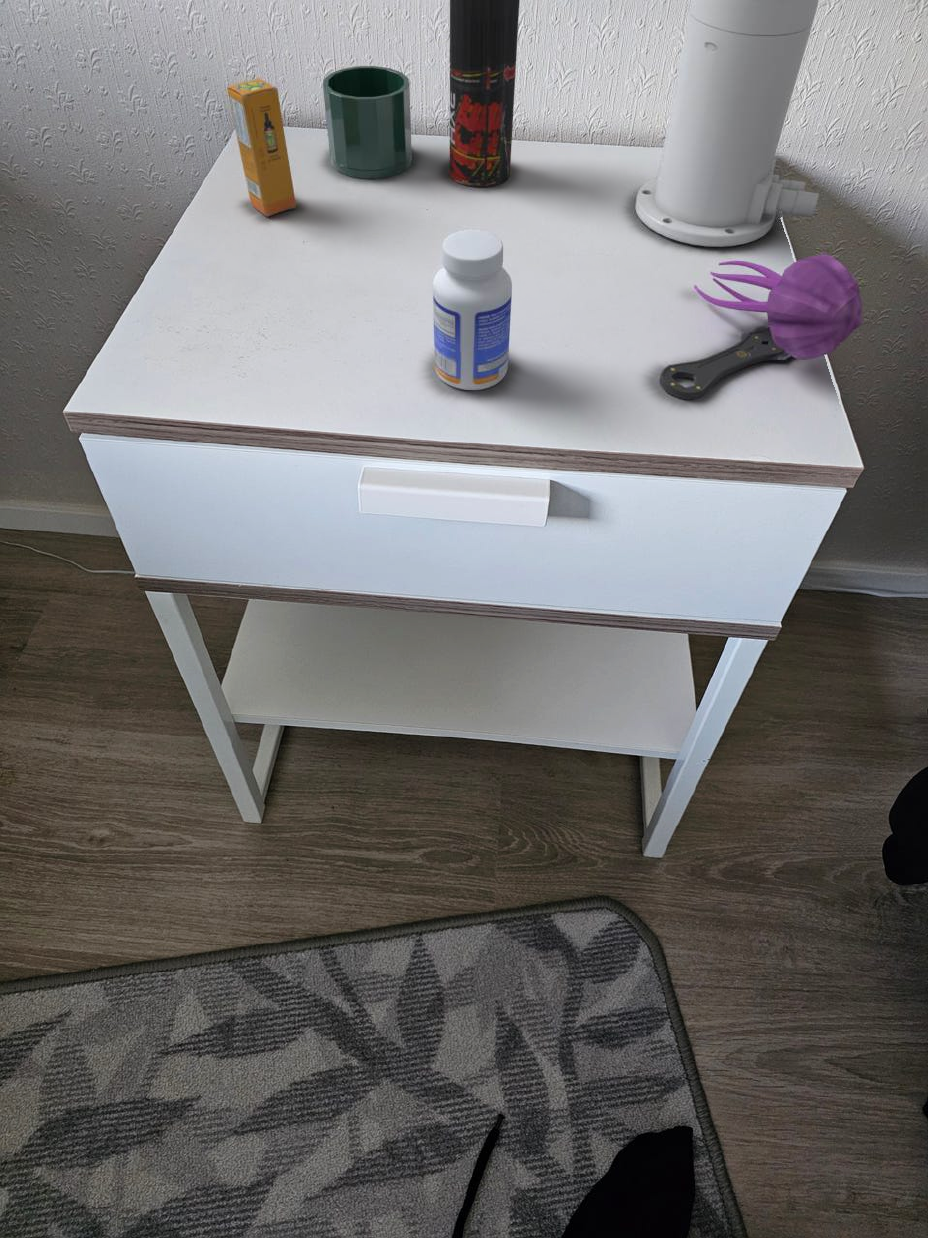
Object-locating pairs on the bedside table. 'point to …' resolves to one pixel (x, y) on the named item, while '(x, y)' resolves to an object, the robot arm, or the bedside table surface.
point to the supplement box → (262, 145)
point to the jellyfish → (801, 303)
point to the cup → (368, 121)
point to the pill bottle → (472, 311)
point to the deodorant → (482, 89)
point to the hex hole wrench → (722, 363)
